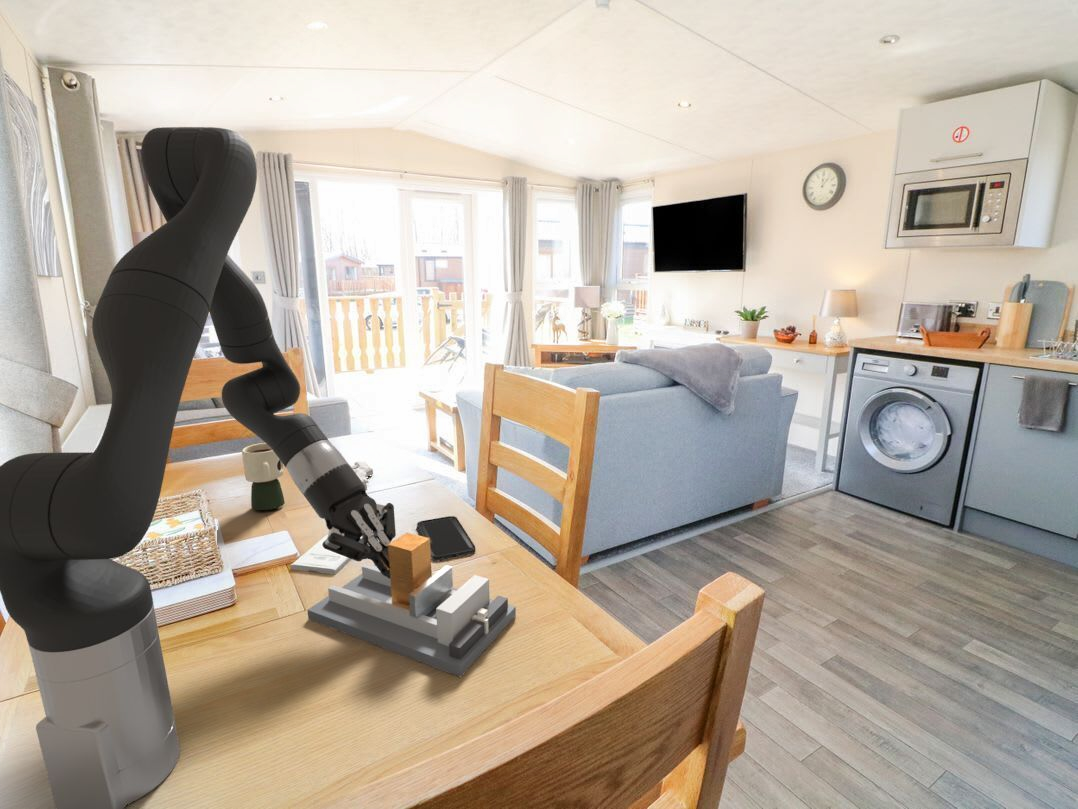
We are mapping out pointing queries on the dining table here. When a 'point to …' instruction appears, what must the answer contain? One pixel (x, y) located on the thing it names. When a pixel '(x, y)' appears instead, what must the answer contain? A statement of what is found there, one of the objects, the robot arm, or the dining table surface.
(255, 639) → the dining table surface
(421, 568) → the block
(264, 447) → the character mug
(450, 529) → the phone
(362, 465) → the white mechanical part
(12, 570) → the robot arm
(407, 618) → the bench vise
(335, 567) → the external hard drive
